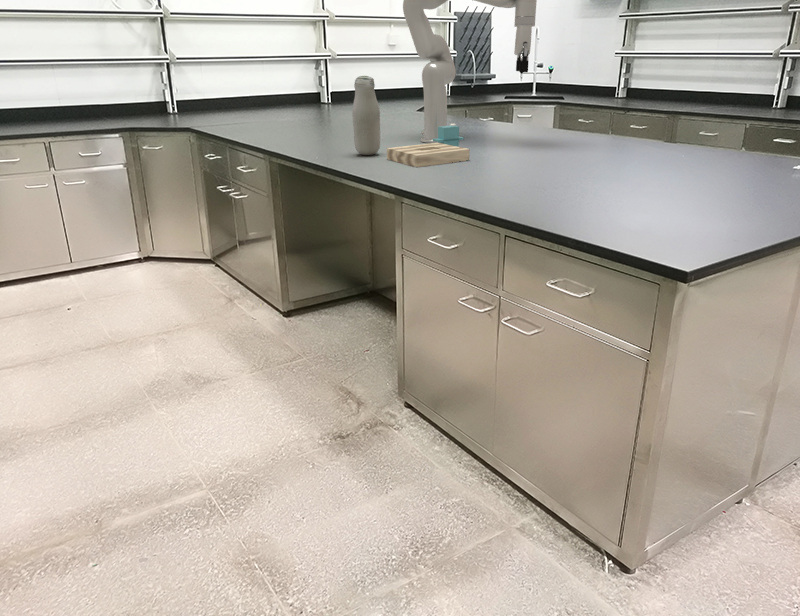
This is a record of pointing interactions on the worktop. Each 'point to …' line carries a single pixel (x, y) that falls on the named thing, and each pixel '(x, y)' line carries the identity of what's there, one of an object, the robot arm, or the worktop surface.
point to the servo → (449, 135)
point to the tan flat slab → (427, 154)
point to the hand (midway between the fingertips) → (521, 71)
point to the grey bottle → (366, 117)
